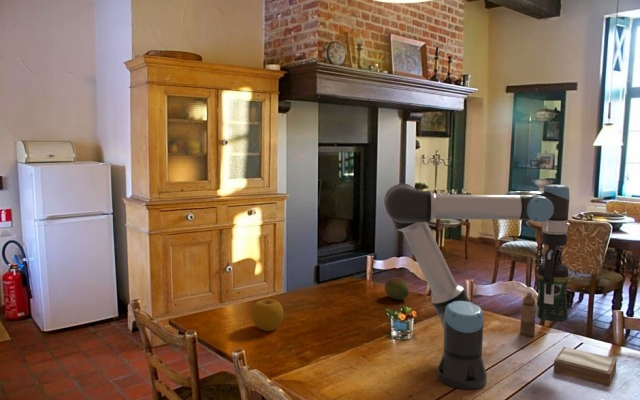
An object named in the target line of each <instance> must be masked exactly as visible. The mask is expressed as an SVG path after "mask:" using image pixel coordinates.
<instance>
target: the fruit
mask: <svg viewBox="0 0 640 400" xmlns="http://www.w3.org/2000/svg"><path fill="white" fill-rule="evenodd" d="M384 291H385V293H386V295H387V296H388V297H390V298H391V299H394V300H396V301H401V300H404V299H406V298H407V297H408V296H409V286H408V284H407V282H406V281H405V280H404V279H402V278H400V277H398V276H397V277H396V276H393V277H390V278H389V279H387V281H386V282H385V284H384Z"/></svg>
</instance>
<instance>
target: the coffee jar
mask: <svg viewBox="0 0 640 400" xmlns="http://www.w3.org/2000/svg"><path fill="white" fill-rule="evenodd" d="M544 267H545V262H540V263H539V264H538V268H537V273H536V278H537V280H538V289H537V290H538V292H537V299H536V318H537V319H540V320H542V321H548V322H560V323H562V322H567V320H568V301H567V283H568V282H569V278H570V275H569V269H568V266H567V265H566V264H563V263H562V264H557V265H556V267H555V275H554V302H553V304H547V303H544V290H545V284H543V283H542V281H543V279H544ZM547 280H548V279H547Z"/></svg>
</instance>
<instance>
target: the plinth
mask: <svg viewBox="0 0 640 400" xmlns="http://www.w3.org/2000/svg"><path fill="white" fill-rule="evenodd" d="M616 369H617V358H614V357H610V356H606V355H603V354H598V353H592V352H590V351H589V352H588V351H583V350H580V349H576V348H570V347H567V346H563V347H562V349H561V350H560V351H559V353H558V355H557V356H556V357H555V359H553V373H557V374H559V375H564V376H568V377H571V378H575V379H579V380H583V381H587V382H590V383H594V384H597V385H598V384H599V385H602V386H606V387H610V386H611V384H612V380H613V378H614V376H615V373H616V371H617V370H616Z"/></svg>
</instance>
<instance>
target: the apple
mask: <svg viewBox="0 0 640 400" xmlns="http://www.w3.org/2000/svg"><path fill="white" fill-rule="evenodd" d="M250 312H251V313H250V314H251V316H250V317H251V319H252V321H253V323H254V325H255V326H256V327H257V328H258V329H259V330H261V331H264V332H271V331H274V330H277V329H278V328H279V326H280V325H281V323H282V321H283V318H284V308H283V306H282V305H281V303H280V302H279V301H277V299H271V298H266V299H261V300H257V301H256V302H255V303H254V304H253V306H252V307H251V310H250Z"/></svg>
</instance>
